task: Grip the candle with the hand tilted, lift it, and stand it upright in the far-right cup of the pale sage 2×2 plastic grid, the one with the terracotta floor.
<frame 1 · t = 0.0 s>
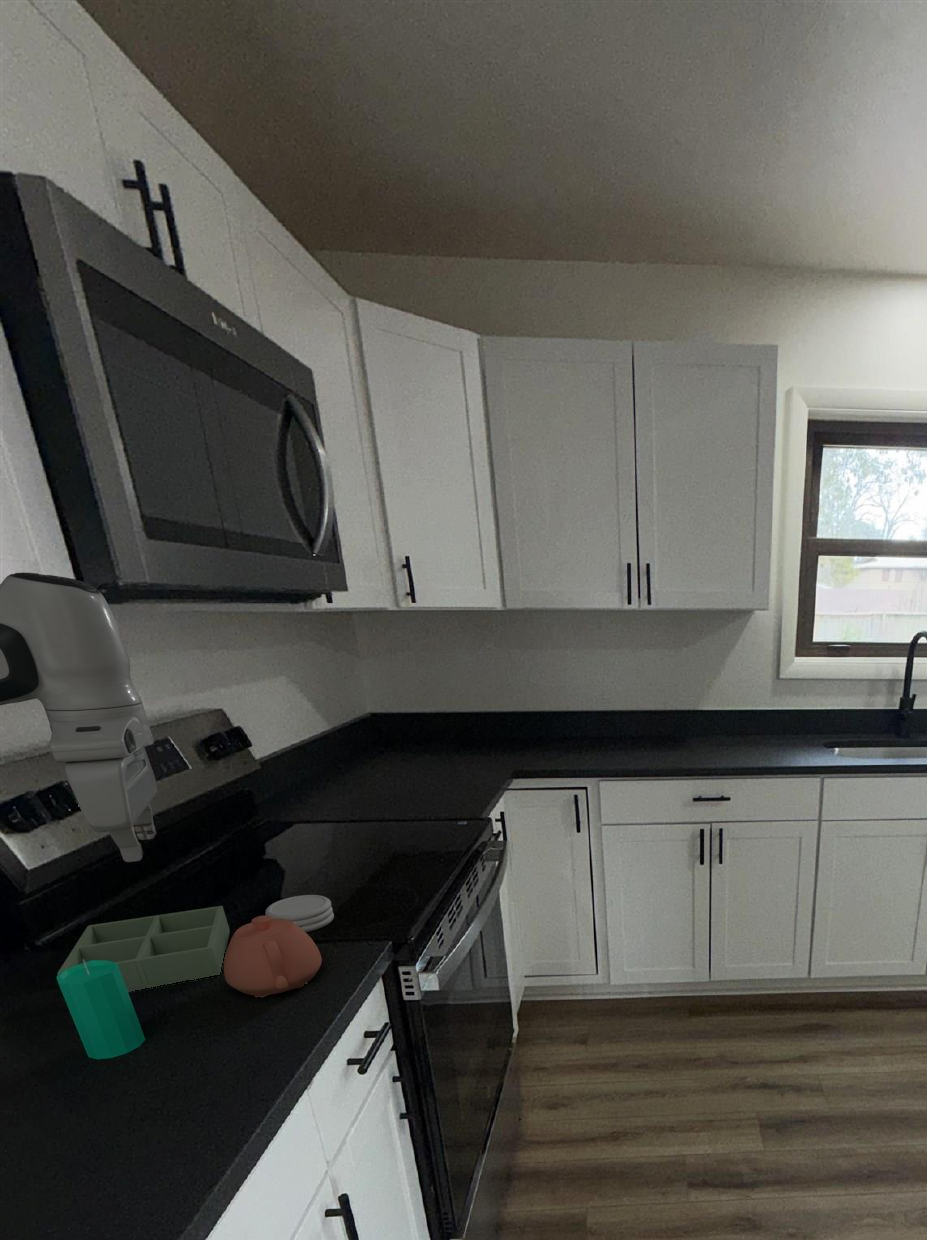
hand: (141, 848, 90), 23 cm above the counter, tool pointing down, fingers open, 8 cm apart
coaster: (302, 924, 128), on the counter
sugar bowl: (280, 986, 107), on the counter
grid: (157, 963, 114), on the counter
candle: (117, 1047, 93), on the counter
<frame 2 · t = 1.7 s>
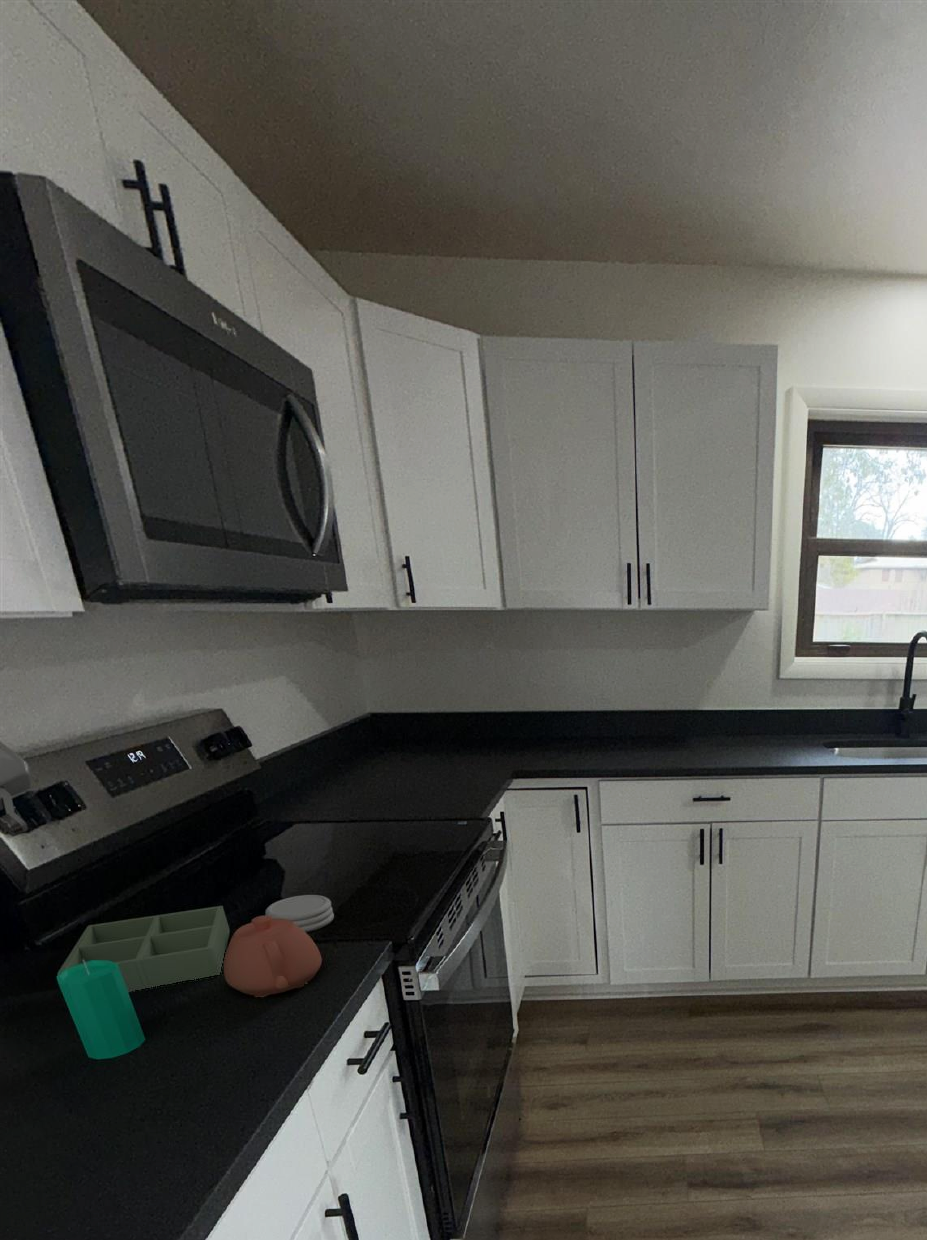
nothing on the counter moved.
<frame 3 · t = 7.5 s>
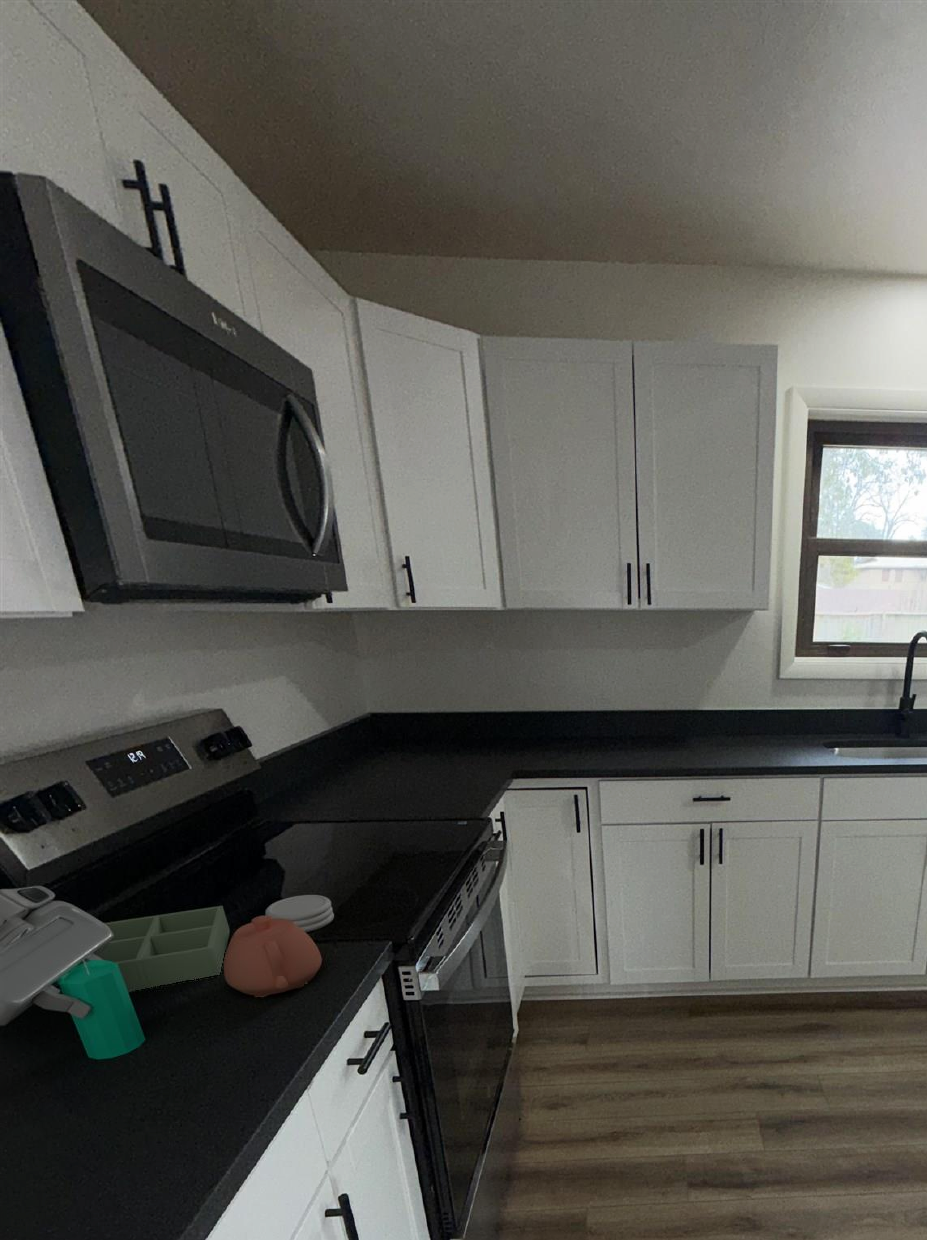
hand: (104, 999, 90), 7 cm above the counter, tool tilted 45°, fingers closed on candle, 5 cm apart
candle: (117, 1047, 93), on the counter, touching gripper
everything else where it was.
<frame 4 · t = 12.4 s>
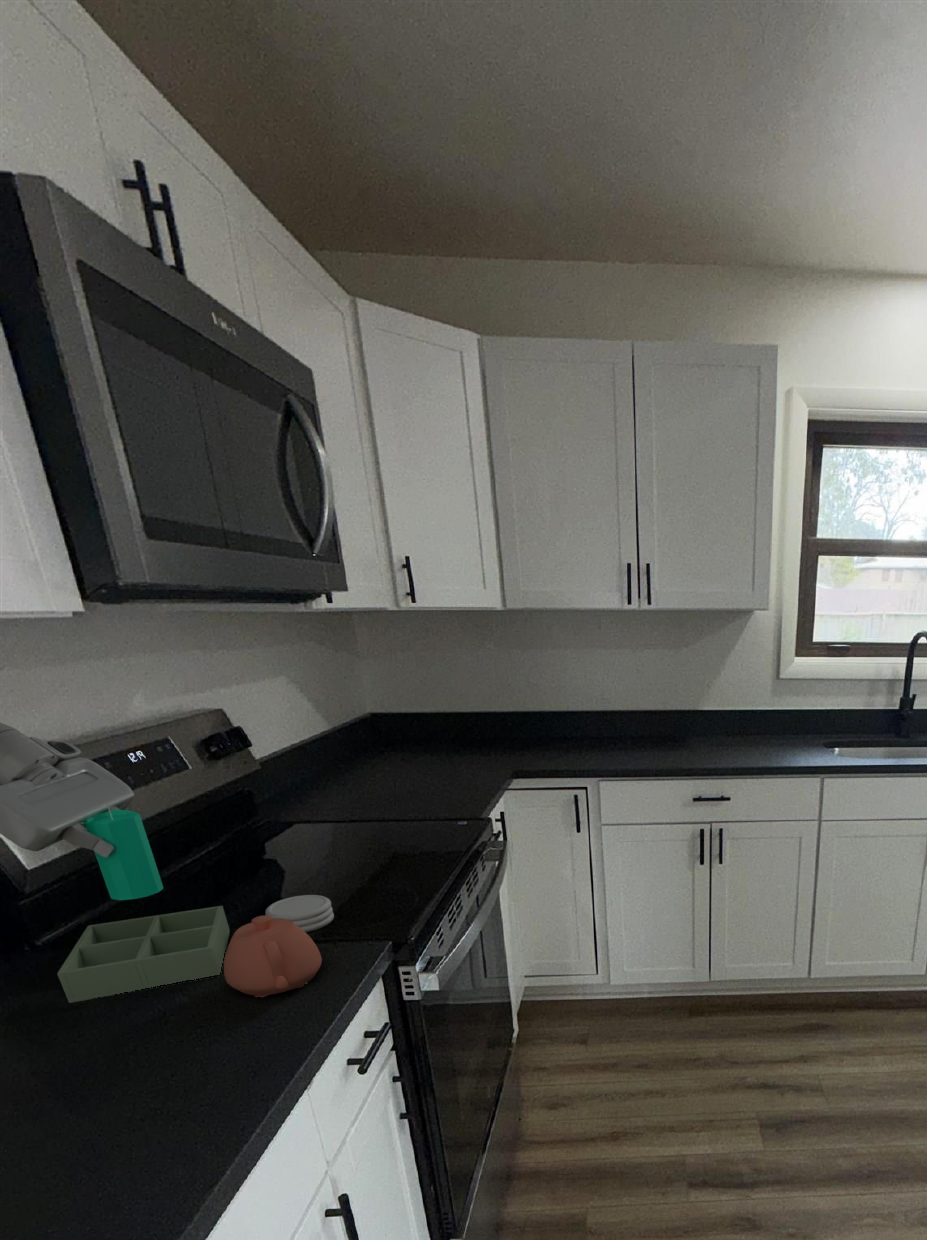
hand: (126, 844, 98), 21 cm above the counter, tool tilted 45°, fingers closed on candle, 5 cm apart
candle: (137, 893, 100), point 15 cm above the counter, touching gripper
everything else where it was.
when the fingers open (7 cm above the counter, at t = 17.4 s): candle stays where it is, resting on grid.
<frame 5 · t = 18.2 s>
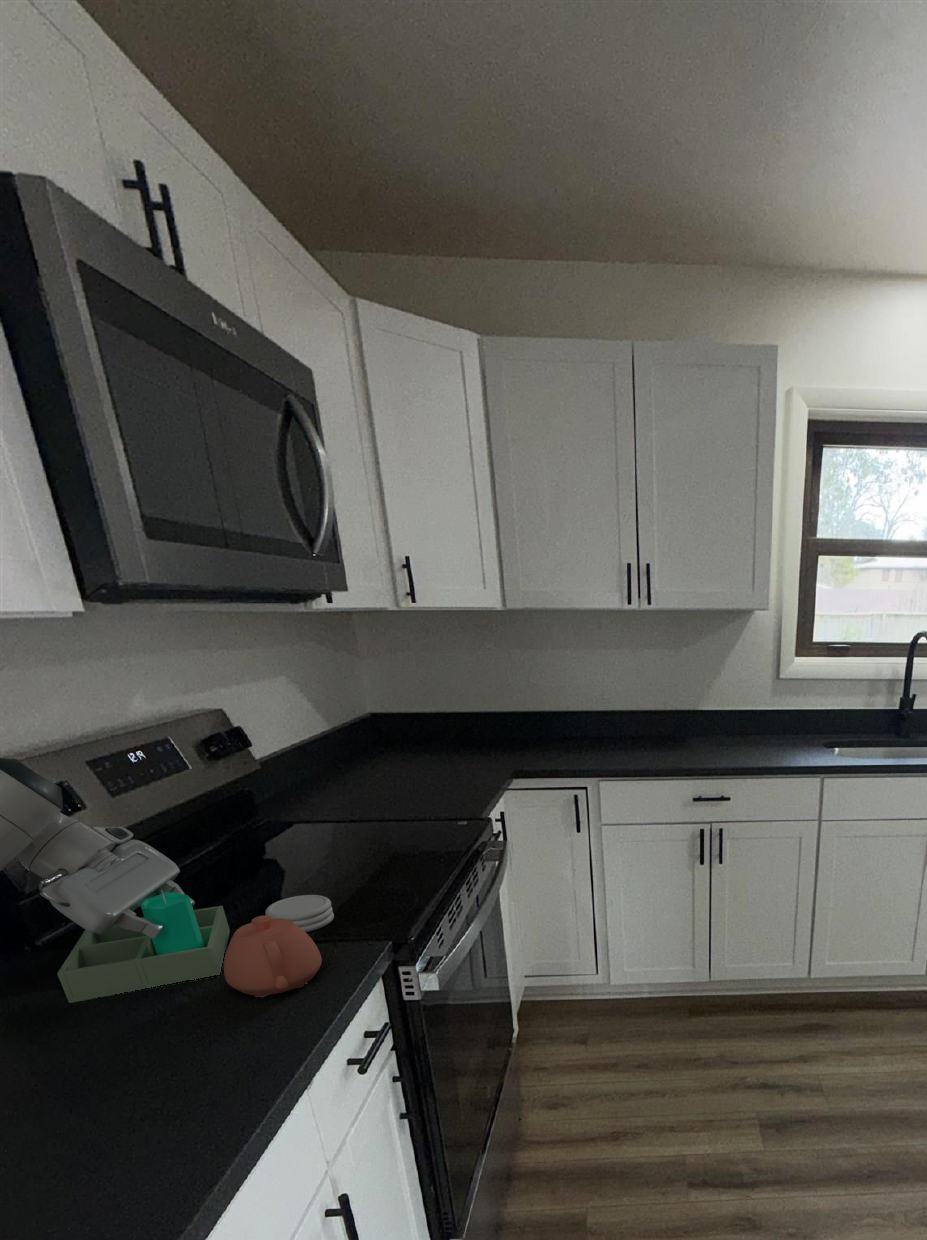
hand: (175, 920, 109), 8 cm above the counter, tool tilted 45°, fingers open, 8 cm apart
candle: (186, 966, 111), point 1 cm above the counter, touching grid
everything else where it was.
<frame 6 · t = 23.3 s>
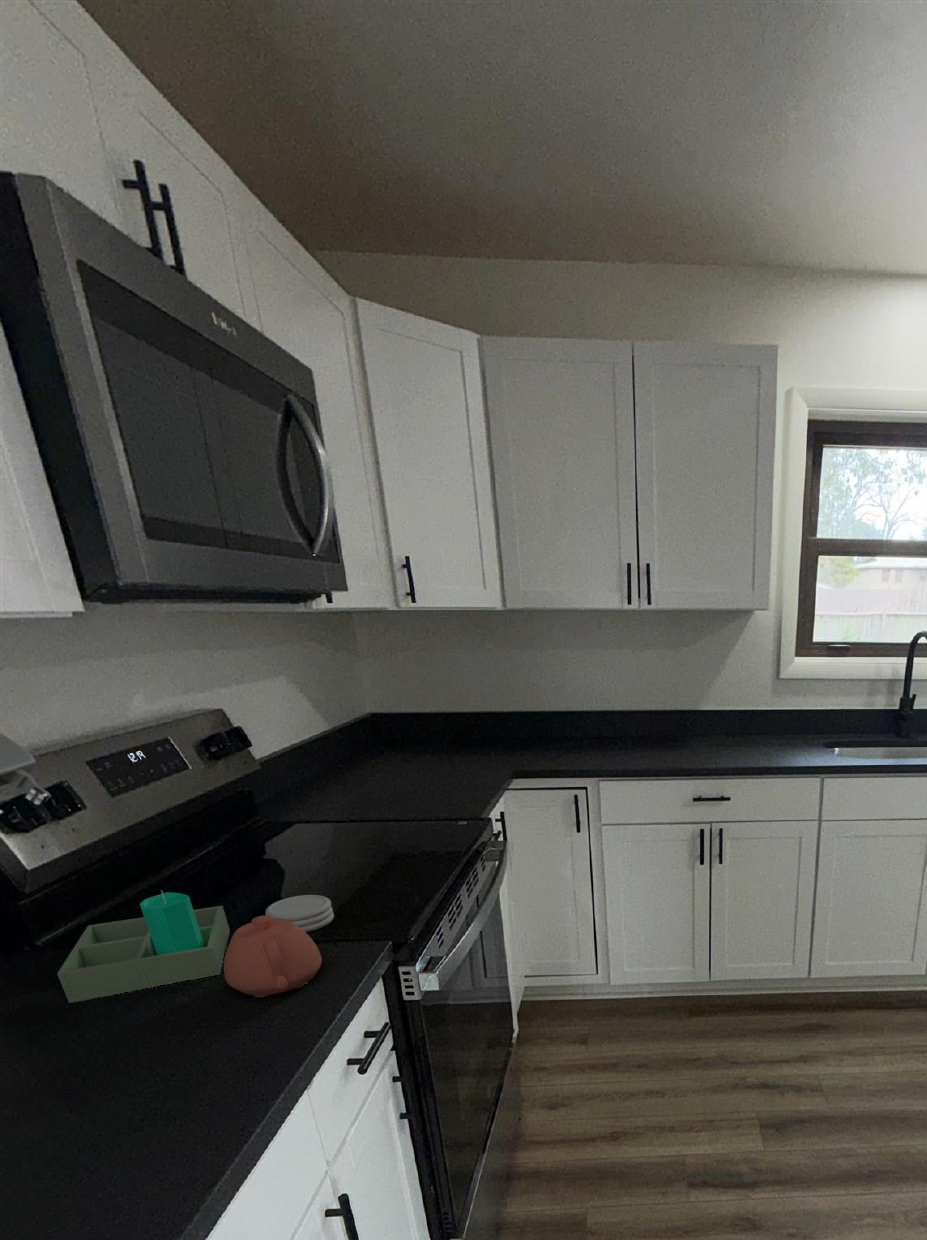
hand: (22, 809, 99), 25 cm above the counter, tool tilted 45°, fingers open, 8 cm apart
nothing on the counter moved.
at the end: candle 0.3 cm from the target spot in the grid, point 0.6 cm above the grid's base; candle tilted 0°; the gripper is holding nothing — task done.
